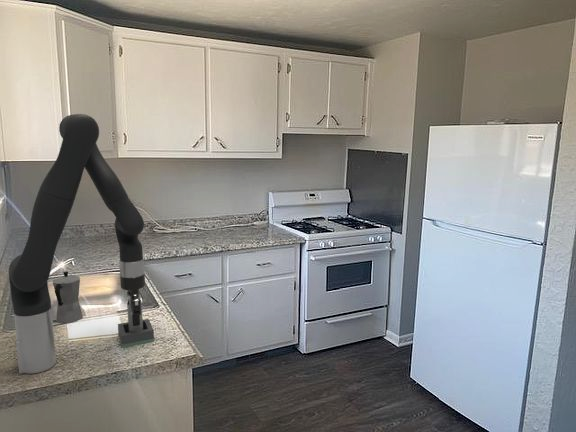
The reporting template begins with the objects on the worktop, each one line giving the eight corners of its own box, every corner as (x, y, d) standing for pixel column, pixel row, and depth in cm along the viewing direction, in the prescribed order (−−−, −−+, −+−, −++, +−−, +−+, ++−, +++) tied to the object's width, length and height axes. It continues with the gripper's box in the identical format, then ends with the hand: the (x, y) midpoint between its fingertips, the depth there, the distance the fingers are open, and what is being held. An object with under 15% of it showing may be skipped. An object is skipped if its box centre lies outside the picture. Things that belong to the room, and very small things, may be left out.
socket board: (121, 347, 137) (121, 336, 136) (118, 335, 146) (117, 323, 145) (154, 341, 141) (153, 330, 141) (148, 329, 150) (148, 318, 149)
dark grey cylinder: (126, 331, 143) (124, 302, 141) (139, 327, 146) (137, 298, 144) (132, 335, 140) (130, 305, 138) (145, 331, 143) (144, 302, 141)
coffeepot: (63, 311, 164) (59, 266, 161) (89, 311, 165) (85, 265, 162) (45, 329, 149) (40, 279, 146) (73, 328, 150) (69, 279, 147)
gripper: (117, 268, 144) (120, 316, 147) (122, 281, 131) (125, 333, 134) (141, 265, 147) (143, 312, 150) (148, 277, 135) (150, 328, 138)
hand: (135, 322), depth 142 cm, fingers closed on dark grey cylinder, 4 cm apart
